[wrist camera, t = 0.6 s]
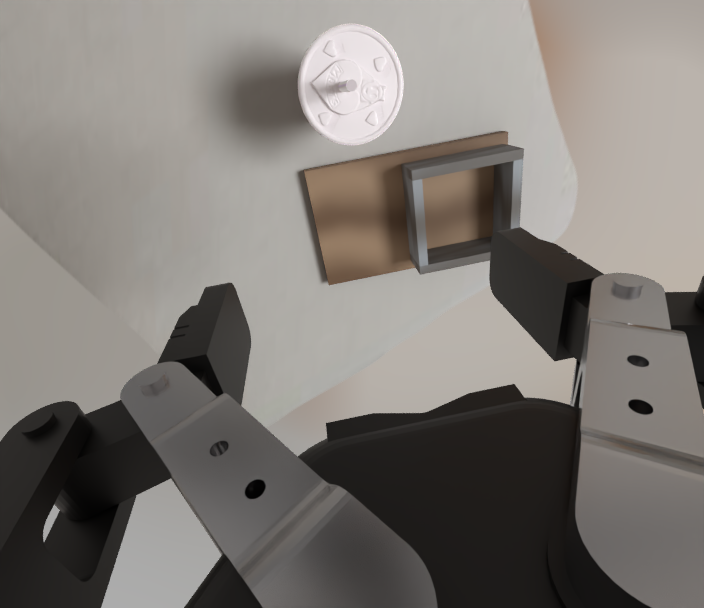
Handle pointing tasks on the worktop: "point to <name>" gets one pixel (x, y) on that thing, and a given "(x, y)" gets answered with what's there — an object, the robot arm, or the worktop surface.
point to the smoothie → (350, 84)
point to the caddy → (416, 207)
